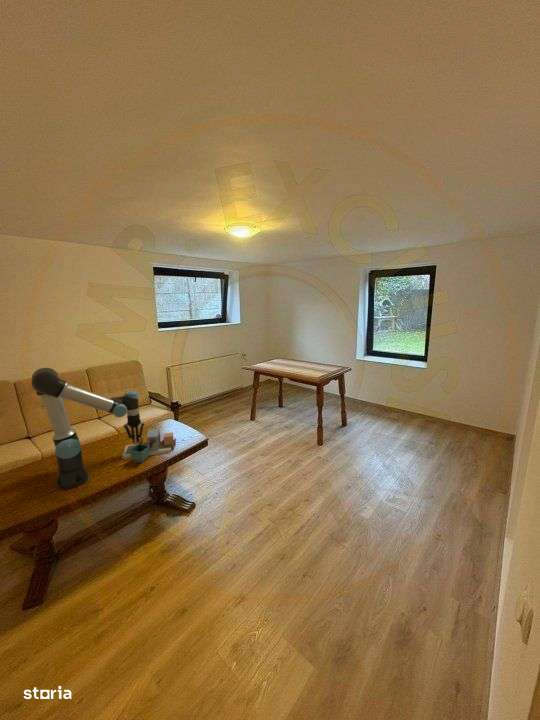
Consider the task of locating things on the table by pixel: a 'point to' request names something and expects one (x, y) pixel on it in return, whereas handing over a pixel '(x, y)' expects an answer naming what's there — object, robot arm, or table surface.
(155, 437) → the tunnel
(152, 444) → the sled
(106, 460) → the table surface
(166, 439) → the terracotta block
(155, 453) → the board
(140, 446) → the flower pot
